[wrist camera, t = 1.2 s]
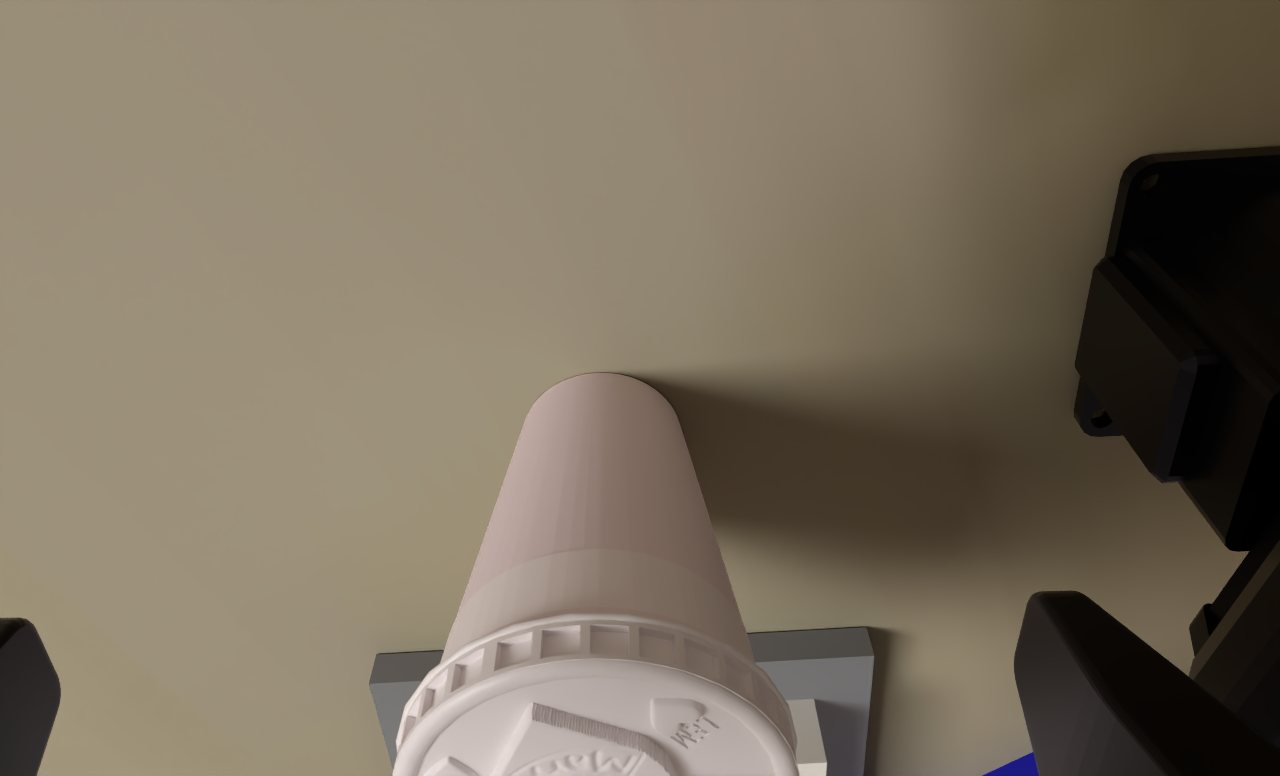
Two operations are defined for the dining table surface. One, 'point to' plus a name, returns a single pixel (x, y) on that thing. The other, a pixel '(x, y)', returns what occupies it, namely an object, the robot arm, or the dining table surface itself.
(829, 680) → the socket plate
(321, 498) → the dining table surface
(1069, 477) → the dining table surface
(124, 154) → the dining table surface
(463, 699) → the smoothie
